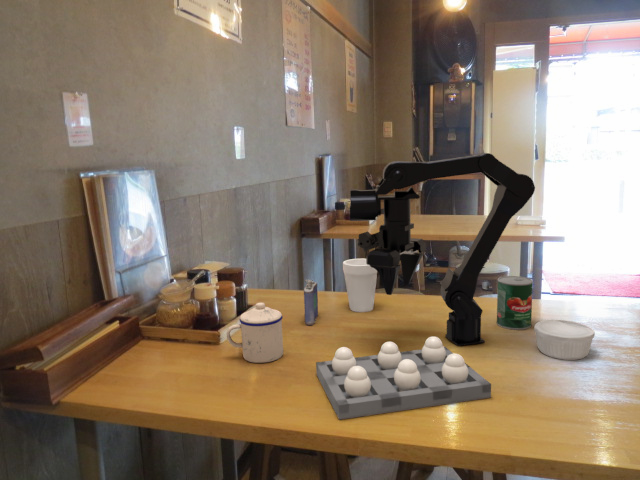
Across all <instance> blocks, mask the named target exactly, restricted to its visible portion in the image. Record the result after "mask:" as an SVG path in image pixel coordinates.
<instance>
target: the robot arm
mask: <svg viewBox="0 0 640 480" xmlns="http://www.w3.org/2000/svg"><path fill="white" fill-rule="evenodd" d="M477 173H481V174H482V175H484V176H485V177H486V178H487V179H488V180H489V181H490V182H492V183H493V184H494V185H495V186H496V188H495V192H494V195H493V201H492V207H491V210H490V212H489V213H488V215H487V217H486V218H485V220H484V223H483V224H482V226H481V228H480V229H479V232H478V233H477V234H476V237H475V239H473V241H472V244H471V246H470V248H469V249H468V251H467V252H466V254H465V257H464V258H463V260H462V262H461V263H460V265H459V266H457V268H455V269H454V270H452V268H450V267H448V268H447V271H446V272H445V276H444V278H443V279H442V280H441V281H439V284H440V286H441V287H440V288H439V289H440V291H439V292H440V295H441V298H442V300H443V301H444V303H445V305H446V306H447V307H448V308H449V309H450V310H452V311H450V312H448V319H446V334H445V336H444V337H445V338H447V339H448V340H450V341H451V342H452V343H453V344H454V345H456V346H459V347H463V346H469V345H476V344H477V345H478V344H484V343H485V339H483V338H482V337H481V333H482V331H481V329H482V315H483V309H482V307H480V305H479V303H478V302H477V301H476V300H475V298H474V296H475V294H476V291H477V290H476V289H477V285H478V279H479V276H480V273H481V272H482V271H483V268H484V266H485V265H486V263H487V262H488V260H489V258H490V256H491V254H492V252H493V251H494V250H495V247H496V246H497V243H498V242H499V240H500V238H501V236H502V235H503V233H504V231H505V230H506V227H507V226H508V224H509V222H510V221H511V219H512V218H513V217H514V216H515V215H516V214H517V213H518V212H519V211H521V210H522V209H523V208H524V206H525V205H526V204H527V203H528V201H530V199H531V198H532V197H533V195H534V193H535V189H536V185H535V183H534V181H533V179H532V178H531V176H530V175H527V174H523V173H518V172H516V171H515V170H513V169H512V168H510V167H509V166H507V165H506V164H505V163H503V162H502V161H500V160H499V159H498V158H496V156H494V154H492V153H487V152H481V153H478V154H474V155H466V156H459V157H454V158H445V159H439V160H431V161H405V160H404V161H403V160H402V161H399V160H395V161H394V160H393V161H390V162H388V163H387V164H386V165H385V166H384V168H383V170H382V178H381V180H379V183H378V184H376V187H375V188H374V189H356V188H355V189H351V190H350V193H349V194H350V196H349V197H350V198H349V199H350V203H349V221H350V222H362V221H364V222H366V221H377V220H376V219H377V218H378V217H379V216H381V215H382V201H383V224H381V225H380V226H379V228H378V230H379V231H378V232H375V233H372V234H371V233H370V232H369V231H365V232H362V233H359V234H358V239H357V241H358V242H357V245H358V246H357V247H359V248H361V249H362V251H363V252H368V253H367V254H365V255H366V257H365V259H366V264H367V265H370V267H372V268H374V269H376V270H377V271H378V272H377V273H378V275H379V277H380V279H381V280H380V281H381V283H382V285H383V288H384V290H385V293H386V295H388V296H392V294H393V291H394V289H395V286H396V285H395V284H396V282H397V279H398V275H399V273H400V268H401V273H402V280H403V285H406V286H409V285H410V283H411V282H412V279H413V277H414V274H415V272H416V269H417V268H418V267H419V266H418V265H419V263H420V261H421V259H422V257H423V256H424V254H425V252H426V251H427V243H426V241H425V240H424V239H423V238H414V237H411V236H412V234H411V233H412V231H411V230H412V229H414V228H415V223H413V222H411V219H412V218H411V200H413V199H414V200H415V199H417V200H418V199H420V197H421V196H420V195H419V194H418V193H416V191H415V190H414V188H413V187H412V186H414V185H417V184H421V183H423V182H425V181H428V180H433V179H440V178H441V179H442V178H447V177H449V178H450V177H455V176H456V177H457V176H463V175H471V174H477ZM405 188H408V189H406V190H402V189H405ZM393 190H394V191H393ZM390 192H393V195H388V194H389V193H390ZM375 248H376V249H375ZM369 250H370V251H369Z"/></svg>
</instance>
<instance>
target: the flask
mask: <svg viewBox="0 0 640 480" xmlns="http://www.w3.org/2000/svg"><path fill="white" fill-rule="evenodd" d="M304 282H305V283H306V285H305V286H304V287H303V288H304V289H303V301H304V302H303V304H304V324H305V325H306V326H309V327H310V326H313V325H315V323H316V321H317V319H318V317H319V307H318V305H319V304H318V303H319V300H318V296H319V295H318V282H315V281H314V280H311V279H305V281H304Z"/></svg>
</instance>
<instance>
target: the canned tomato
mask: <svg viewBox="0 0 640 480" xmlns="http://www.w3.org/2000/svg"><path fill="white" fill-rule="evenodd" d="M533 282H534V281H533V279H531V278H530V277H526V276H525V277H524V276H519V275H506V276H500V277H498V278H497V290H496V291H497V293H496V294H497V295H496V296H497V299H496V302H497V303H496V324H497V326H498V327H501V328H502V329H507V330H516V331H517V330H518V331H519V330H521V331H522V330H527V329H528V330H529V329H530V328H531V327H532V314H533V313H532V310H533V307H532V306H533V284H534V283H533Z"/></svg>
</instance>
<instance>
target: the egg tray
mask: <svg viewBox="0 0 640 480" xmlns="http://www.w3.org/2000/svg"><path fill="white" fill-rule="evenodd" d="M424 341H425V342H424V345H423V346H422V348H421V349H413V350H407V351H400V349H399V347H398V345H397V344H396V343H395V342H393V341H386V342H384V343H383V344H382V345H381V347H380V351H379V352H378V354H375V355H374V354H373V355H365V356H359V357H358V356H357V357H356V356H354V354H353V352H352V349H350V348H348V347H347V346H342V347H339V348H337V350H336V351H335V354H334V357H333V358H332V360H325V361H324V360H323V361H317V362H315V367H316V368H315V370H316V376H317V378H318V381H319V382H320V385H321V386H322V388H323V390H324V393H325V395H326V396H327V398H328V400H329V402H330V404H331V406H332V409H333V411H334V413H335V415H336V416H337V418H338V420H339V421H341V420H346V419H348V420H349V419H354V418H359V417H360V418H361V417H367V416H373V415H380V414H389V413H396V412H401V411H409V410H414V409H423V408H428V407H436V406H441V405H442V406H443V405H448V404H456V403H463V402H468V401H476V400H483V399H490V398H491V397H492V383H491V382H490V381H488V380H487V379H486V378H485V377H483V376H482V375H481V374H479V373H478V372H477V371H476V370H475V369H473V368H472V367H471V366H470V365H468V364H467V363H466V362H465V359H464V357H463V356H462V355H461V354H459V353H454V352H452V351H451V350H450V348H447V347H446V346H444V345H443V342H442V340H441V339H440V338H439V337H438V336H433V335H432V336H429V337H428V338H427V339H426V340H424ZM404 359H410V360H412V361H414V362H415V364H416V365H417V370H418V371H419V373H420V377H421V380H420V384H419V385H418V387H417V388H416V389H415V390H409V391H402V392H399V388H398V387H397V385H396V384H395V381H394V373H395V371H396V369H397V368H398V365H399V363H400V362H401V361H402V360H404Z"/></svg>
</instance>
